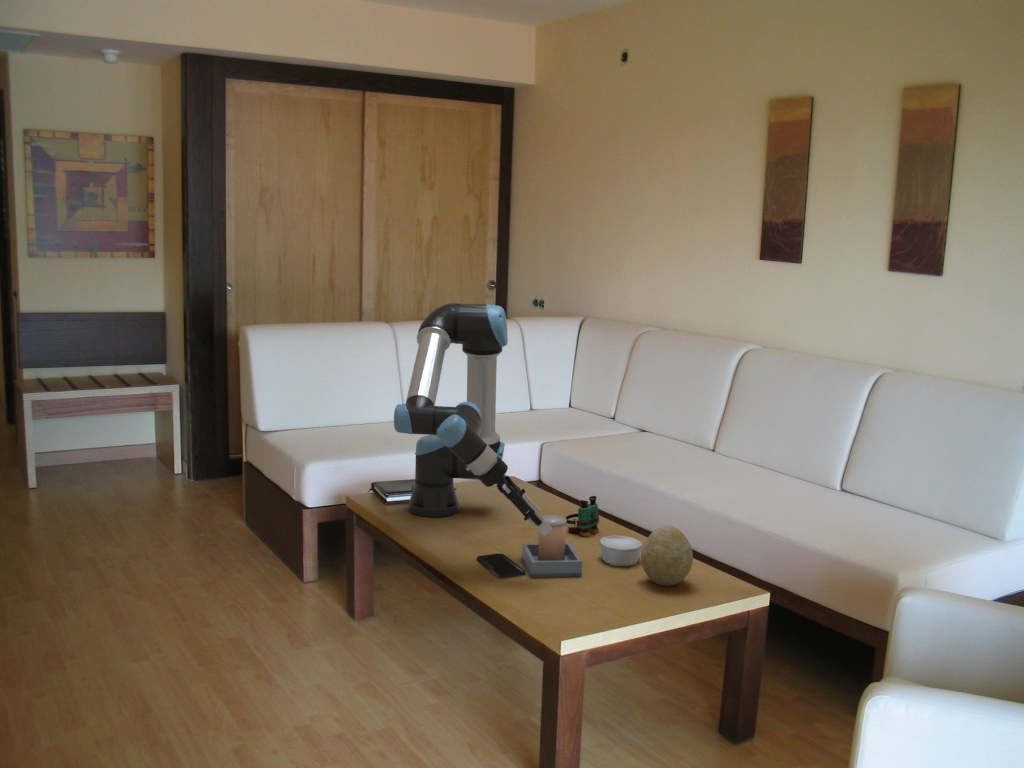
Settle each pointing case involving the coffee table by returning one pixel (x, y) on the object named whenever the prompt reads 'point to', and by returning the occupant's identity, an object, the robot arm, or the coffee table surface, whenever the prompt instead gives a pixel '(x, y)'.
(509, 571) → the phone
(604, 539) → the ramekin
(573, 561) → the tray
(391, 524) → the coffee table surface
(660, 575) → the fossilized egg
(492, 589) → the coffee table surface
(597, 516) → the binoculars
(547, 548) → the beige round cylinder
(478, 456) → the robot arm
